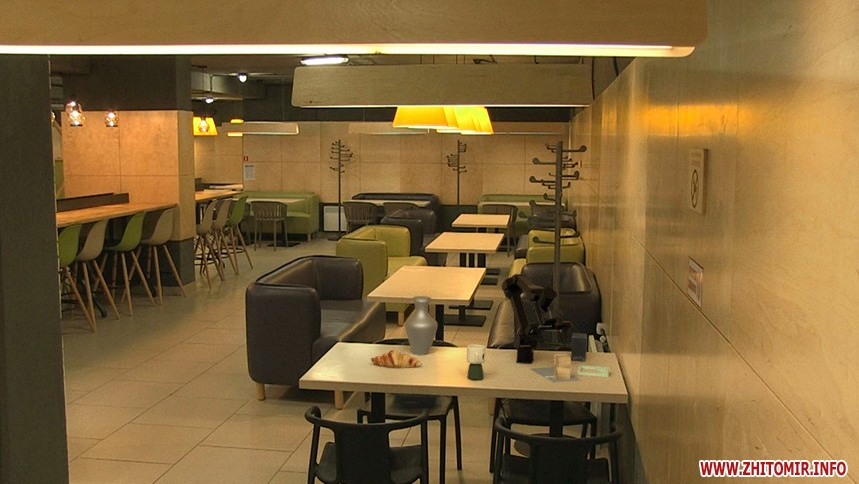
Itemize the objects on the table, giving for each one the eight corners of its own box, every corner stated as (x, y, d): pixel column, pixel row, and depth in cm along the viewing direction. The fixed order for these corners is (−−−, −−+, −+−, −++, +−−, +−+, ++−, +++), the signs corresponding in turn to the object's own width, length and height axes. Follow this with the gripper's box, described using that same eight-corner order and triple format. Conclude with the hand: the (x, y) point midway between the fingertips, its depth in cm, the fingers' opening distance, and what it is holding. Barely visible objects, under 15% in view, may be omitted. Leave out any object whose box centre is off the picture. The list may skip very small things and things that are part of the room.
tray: (577, 378, 334) (577, 371, 334) (578, 371, 346) (579, 365, 345) (608, 380, 331) (608, 374, 331) (608, 373, 343) (609, 367, 343)
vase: (436, 357, 364) (438, 300, 362) (403, 356, 364) (404, 299, 362) (437, 350, 378) (438, 295, 376) (405, 349, 378) (406, 294, 376)
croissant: (422, 374, 350) (423, 355, 353) (420, 368, 340) (422, 348, 343) (371, 370, 351) (373, 352, 354) (368, 364, 342) (370, 345, 345)
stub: (553, 377, 328) (554, 354, 328) (565, 376, 330) (565, 353, 329) (558, 379, 325) (559, 356, 324) (569, 379, 326) (570, 356, 325)
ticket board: (528, 372, 342) (528, 368, 342) (555, 370, 345) (555, 366, 345) (553, 386, 321) (553, 381, 321) (581, 384, 325) (581, 380, 325)
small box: (585, 361, 362) (586, 337, 362) (570, 360, 364) (571, 336, 363) (586, 356, 373) (587, 333, 372) (571, 355, 374) (572, 332, 373)
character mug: (485, 382, 324) (486, 349, 323) (467, 382, 324) (468, 349, 323) (483, 375, 335) (484, 343, 334) (465, 375, 335) (466, 343, 333)
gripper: (529, 303, 333) (540, 336, 324) (571, 301, 339) (583, 333, 330) (520, 319, 341) (531, 351, 332) (561, 317, 347) (573, 349, 338)
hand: (555, 346), depth 332 cm, fingers open, 9 cm apart
